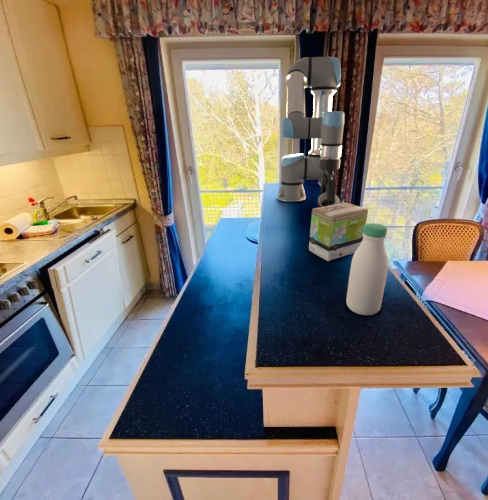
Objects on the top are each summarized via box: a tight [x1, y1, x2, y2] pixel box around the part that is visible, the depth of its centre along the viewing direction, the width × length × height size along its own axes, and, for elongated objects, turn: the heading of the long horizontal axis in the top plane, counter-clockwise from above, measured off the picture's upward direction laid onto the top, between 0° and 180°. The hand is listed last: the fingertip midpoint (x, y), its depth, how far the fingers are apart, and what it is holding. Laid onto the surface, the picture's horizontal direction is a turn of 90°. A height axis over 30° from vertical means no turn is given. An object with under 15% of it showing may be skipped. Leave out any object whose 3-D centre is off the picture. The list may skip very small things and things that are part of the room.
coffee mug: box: [317, 193, 341, 208], centre depth 116 cm, size 12×9×10 cm
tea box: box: [308, 201, 369, 262], centre depth 90 cm, size 15×10×15 cm, turn 122°
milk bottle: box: [345, 222, 389, 316], centre depth 61 cm, size 8×8×20 cm
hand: (325, 212), depth 112 cm, fingers open, 13 cm apart
